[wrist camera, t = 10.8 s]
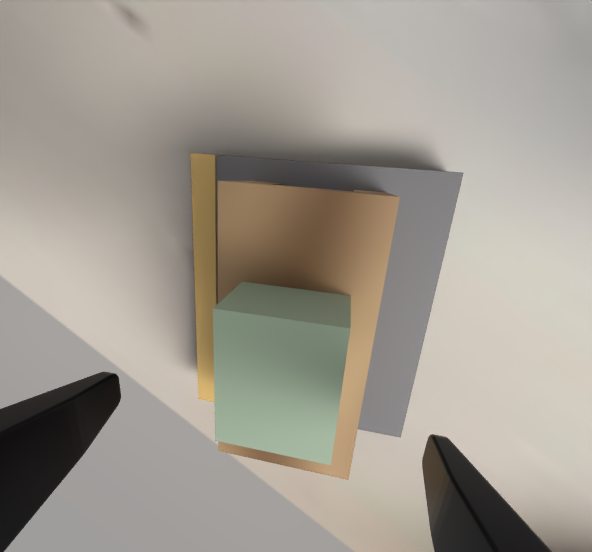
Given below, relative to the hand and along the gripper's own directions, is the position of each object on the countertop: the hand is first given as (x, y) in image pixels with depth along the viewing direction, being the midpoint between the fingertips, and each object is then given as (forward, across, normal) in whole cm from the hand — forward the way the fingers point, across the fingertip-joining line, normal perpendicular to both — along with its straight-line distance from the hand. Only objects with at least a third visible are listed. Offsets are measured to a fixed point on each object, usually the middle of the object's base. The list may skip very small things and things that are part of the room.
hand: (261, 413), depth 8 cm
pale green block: (+3, 0, 0) cm, 3 cm away
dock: (+9, 0, 0) cm, 9 cm away
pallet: (+7, 0, 0) cm, 7 cm away
